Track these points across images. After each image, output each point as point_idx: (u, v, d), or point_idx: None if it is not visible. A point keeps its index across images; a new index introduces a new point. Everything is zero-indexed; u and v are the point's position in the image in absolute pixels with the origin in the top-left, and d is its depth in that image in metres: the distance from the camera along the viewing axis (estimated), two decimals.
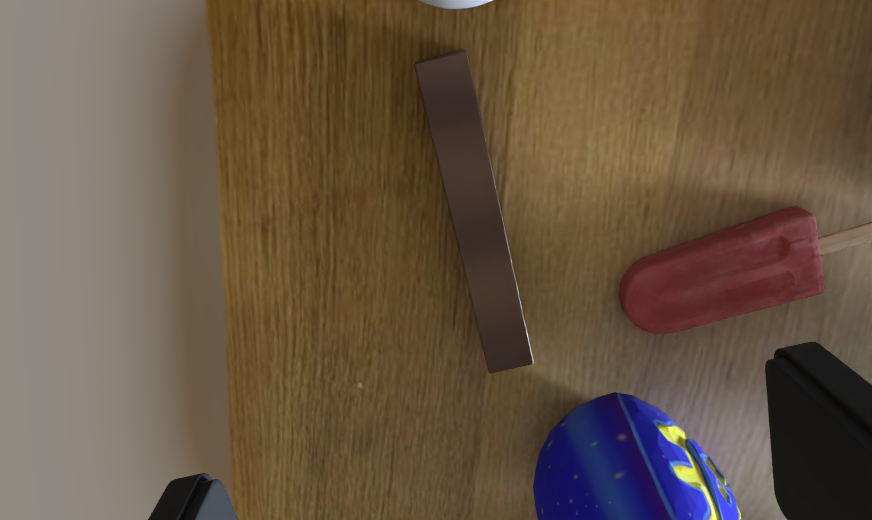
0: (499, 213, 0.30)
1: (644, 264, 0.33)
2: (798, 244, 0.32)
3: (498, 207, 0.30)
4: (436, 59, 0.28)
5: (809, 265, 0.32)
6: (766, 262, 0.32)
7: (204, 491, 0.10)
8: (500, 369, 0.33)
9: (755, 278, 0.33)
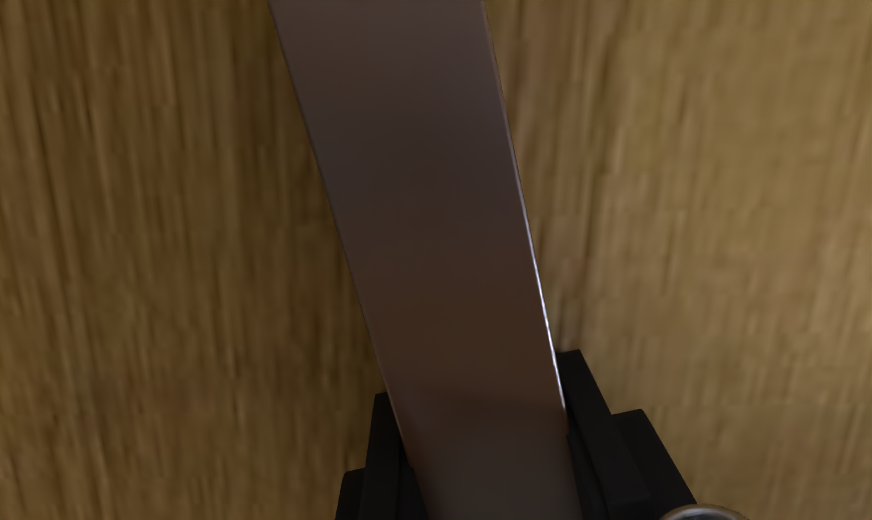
0: (575, 494, 0.10)
1: None
2: None
3: (573, 478, 0.09)
4: None
5: None
6: None
7: None
8: None
9: None
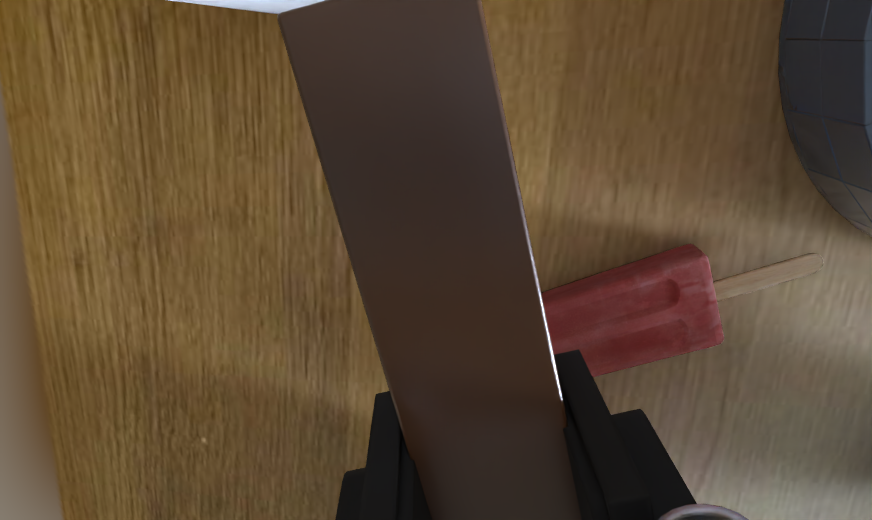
0: (575, 495, 0.10)
1: None
2: (689, 289, 0.28)
3: (572, 478, 0.10)
4: None
5: (703, 313, 0.28)
6: (654, 309, 0.28)
7: None
8: None
9: (642, 327, 0.28)
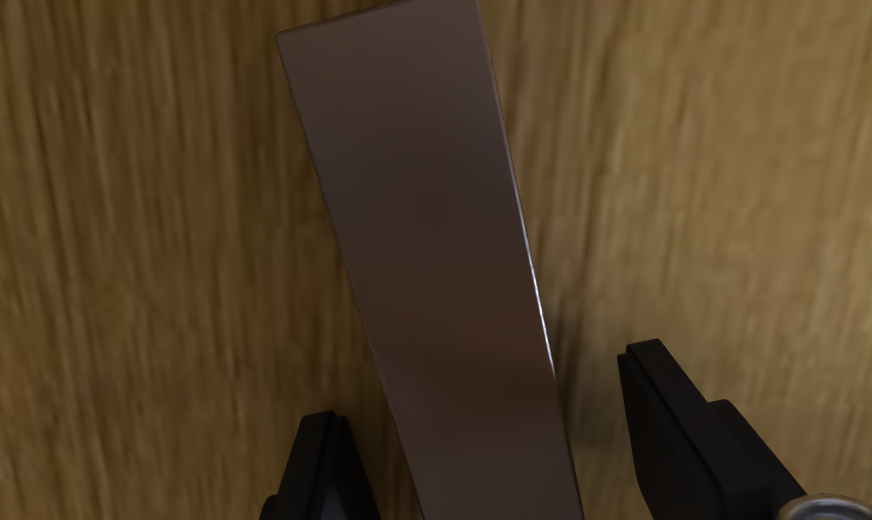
0: (576, 513, 0.10)
1: None
2: None
3: (574, 497, 0.10)
4: (357, 16, 0.07)
5: None
6: None
7: (337, 424, 0.11)
8: None
9: None
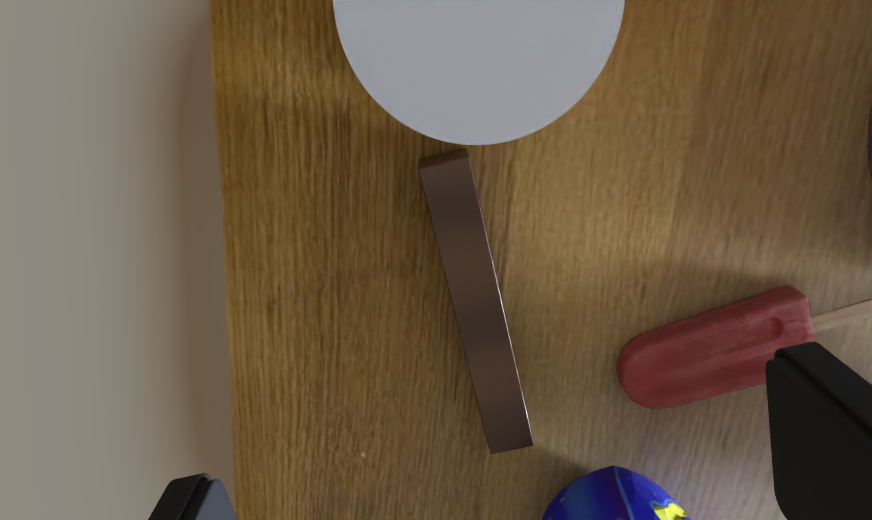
0: (500, 306, 0.31)
1: (641, 342, 0.34)
2: (791, 324, 0.33)
3: (499, 300, 0.31)
4: (439, 164, 0.29)
5: None
6: (760, 341, 0.33)
7: (204, 491, 0.10)
8: (501, 450, 0.34)
9: (749, 356, 0.33)
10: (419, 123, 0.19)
